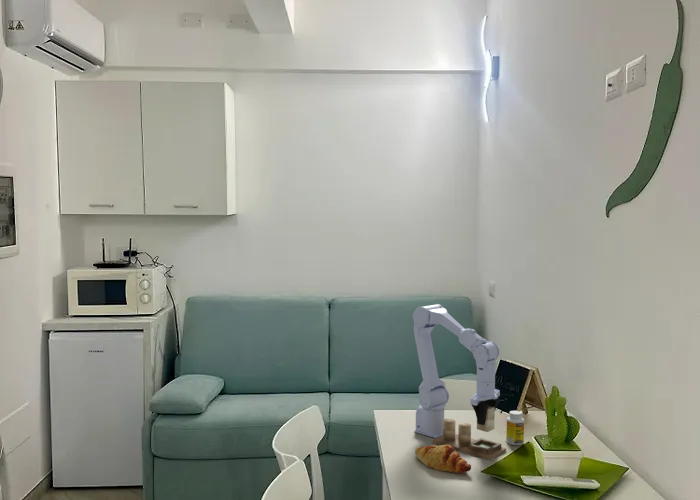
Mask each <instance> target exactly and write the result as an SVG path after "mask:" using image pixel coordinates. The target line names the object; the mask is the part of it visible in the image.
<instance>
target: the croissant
mask: <svg viewBox="0 0 700 500" xmlns="http://www.w3.org/2000/svg"><path fill="white" fill-rule="evenodd" d="M414 452H415V453H414V454H415V455H416V457H417V458H418V460H419V461H421V463H422V464H423V465H425V466H426V467H427V468H430V469H433V470H436V471H441V472H450V473H455V474H464V473H466V472H470V471H471V469H472V465H471V463H468V461H467V460H466V459H464V458H463V457H462V456H461V454H460V452H459V451H457V450H454V448H453V447H452V446H450V445H436V444H433V445H432V444H431V445H427V446H420V447H416V448H415V450H414Z"/></svg>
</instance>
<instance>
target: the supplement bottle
mask: <svg viewBox="0 0 700 500" xmlns="http://www.w3.org/2000/svg"><path fill="white" fill-rule="evenodd" d="M508 414H509V415H508V417H507V418H506V435H505V436H506V438H505V439H506V443H507V444H510V445H512V446H520V445H523V444H524V440H525V439H524V438H525V436H524V435H525V419H524V418H523V413H522V412H521V411H519V410H510V411H509V413H508Z"/></svg>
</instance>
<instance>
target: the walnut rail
mask: <svg viewBox="0 0 700 500" xmlns="http://www.w3.org/2000/svg"><path fill="white" fill-rule="evenodd" d="M457 433H458V434H457ZM457 433H456V420H455V419H453V418H444V420H443V435H442V436H440V437H438V438H434V439H432V440H431V443H432V444H433V445H436V446H440V445H450V446H452V447H453V448H454V450H455V451H456V452H459V453H465V454H468V455H470V456H474V457H477V458H481V459H484V460H488V461H491V460H493V459H494V458H496V457H498V456H500V455H502V454H504V453H506V452H507V448H506V447H503V446H502V443H499V442H496V441H492V440H488V439H485V438H481V437H480V438H478V439H473V438H472V424H471V423H469V422H459V423H458V432H457Z"/></svg>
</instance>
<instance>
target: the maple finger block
mask: <svg viewBox="0 0 700 500" xmlns="http://www.w3.org/2000/svg"><path fill="white" fill-rule="evenodd" d="M495 412H496V410H495V407H490V406H489V407H488V410H487V414H486V422H485V425H481V424H478V421H477V420H476V430H478V431H482V432H486V433H490V432H491V431H493V430H495Z"/></svg>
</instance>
